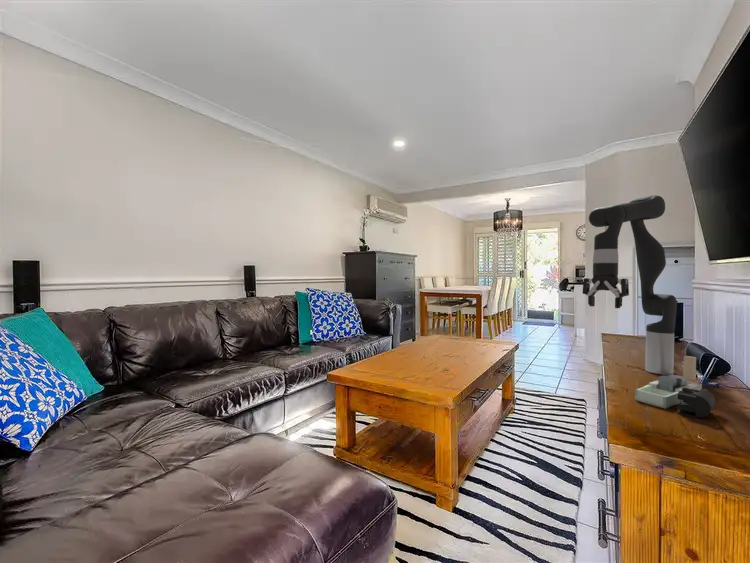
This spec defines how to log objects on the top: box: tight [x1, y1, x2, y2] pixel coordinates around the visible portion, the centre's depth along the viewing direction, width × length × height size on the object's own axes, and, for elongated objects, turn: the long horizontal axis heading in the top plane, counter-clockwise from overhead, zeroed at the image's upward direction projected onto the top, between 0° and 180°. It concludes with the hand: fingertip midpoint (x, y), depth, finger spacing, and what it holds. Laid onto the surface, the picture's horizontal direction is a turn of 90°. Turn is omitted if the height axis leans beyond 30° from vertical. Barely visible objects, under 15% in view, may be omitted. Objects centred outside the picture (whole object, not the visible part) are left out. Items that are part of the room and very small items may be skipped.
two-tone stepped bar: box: [682, 355, 699, 384], centre depth 121 cm, size 3×4×12 cm
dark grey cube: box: [657, 374, 678, 392], centre depth 114 cm, size 4×4×4 cm
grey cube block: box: [667, 373, 687, 388], centre depth 115 cm, size 4×4×4 cm
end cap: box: [676, 388, 716, 419], centre depth 100 cm, size 10×7×7 cm
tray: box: [634, 384, 681, 409], centre depth 110 cm, size 10×8×4 cm
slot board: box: [643, 379, 707, 404], centre depth 116 cm, size 15×12×4 cm
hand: (604, 307), depth 122 cm, fingers open, 8 cm apart
